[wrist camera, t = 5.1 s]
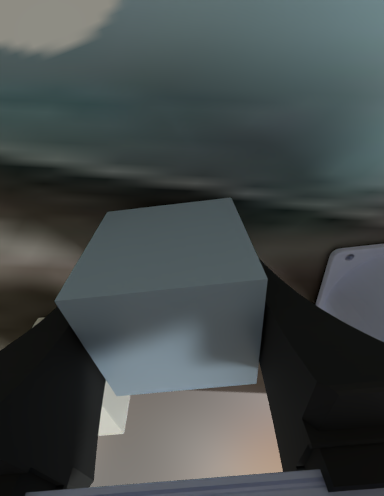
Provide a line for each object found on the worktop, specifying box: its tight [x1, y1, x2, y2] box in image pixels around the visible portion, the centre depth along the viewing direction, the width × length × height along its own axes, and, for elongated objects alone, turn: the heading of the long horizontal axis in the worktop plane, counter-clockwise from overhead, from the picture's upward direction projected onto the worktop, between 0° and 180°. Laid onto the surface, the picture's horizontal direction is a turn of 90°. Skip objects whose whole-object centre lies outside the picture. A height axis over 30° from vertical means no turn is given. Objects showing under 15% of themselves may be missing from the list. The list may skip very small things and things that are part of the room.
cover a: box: [54, 198, 268, 396], centre depth 10 cm, size 6×6×6 cm
